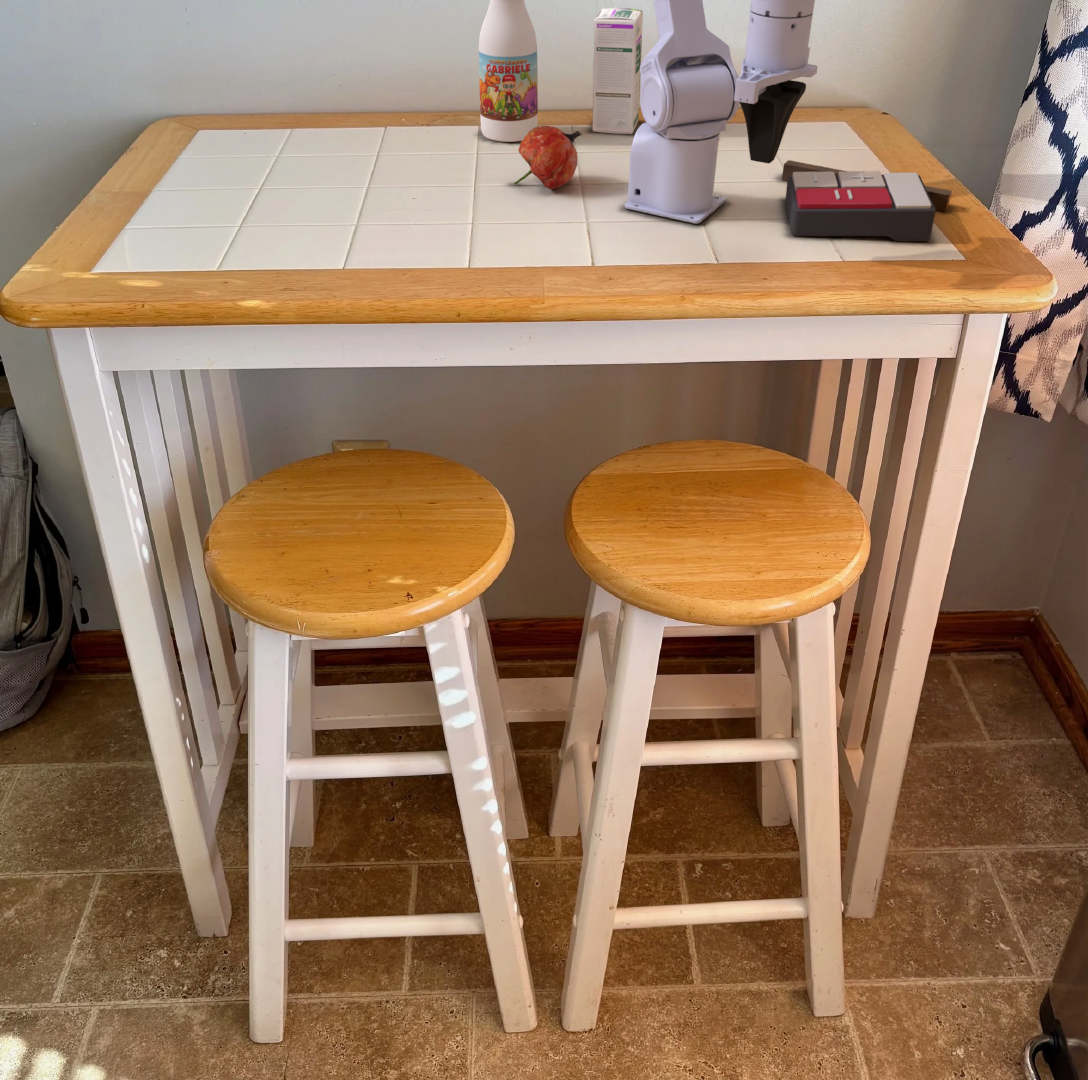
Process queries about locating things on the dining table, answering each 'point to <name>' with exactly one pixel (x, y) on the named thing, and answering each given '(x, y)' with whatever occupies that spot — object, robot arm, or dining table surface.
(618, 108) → the syrup box
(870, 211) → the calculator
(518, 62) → the milk bottle
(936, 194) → the bar
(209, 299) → the dining table surface
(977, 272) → the dining table surface
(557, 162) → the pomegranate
